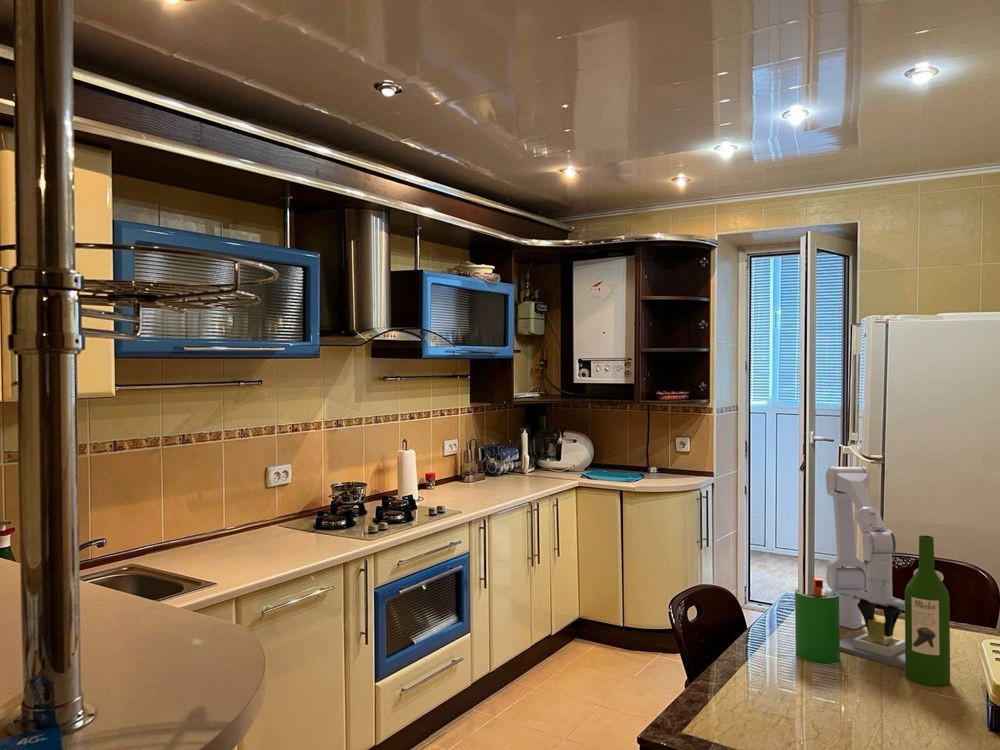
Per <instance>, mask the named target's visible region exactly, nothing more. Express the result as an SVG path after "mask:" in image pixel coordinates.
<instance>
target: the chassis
mask: <svg viewBox="0 0 1000 750" xmlns="http://www.w3.org/2000/svg"><path fill="white" fill-rule="evenodd" d="M840 652H844V653H846V654H850V655H854V656H857V657H861V658H863V659H864V658H865V659H867V660H871V661H875V662H878V663H881V664H885V665H887V666H888V665H889V666H892V667H896V668H899V669H902V670H905V639H901V638H897V637H894V636H893V642H891V643H889V644H887V645H884V646H883V645H879V644H876V643H872V642H868V632H866V633H861V632H857V633H854V634H852V635H850V636H847V637H845V638H843V639H840Z"/></svg>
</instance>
